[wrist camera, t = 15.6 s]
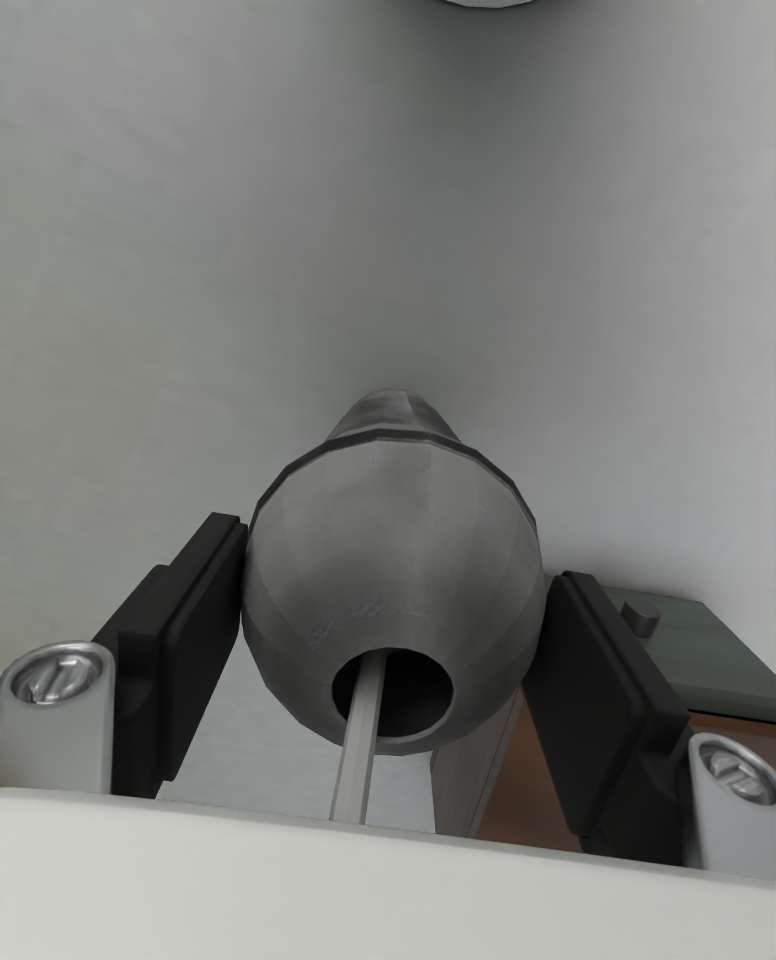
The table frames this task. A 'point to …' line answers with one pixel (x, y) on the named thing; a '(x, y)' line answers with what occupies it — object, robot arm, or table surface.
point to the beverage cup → (391, 588)
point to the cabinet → (532, 778)
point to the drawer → (697, 655)
